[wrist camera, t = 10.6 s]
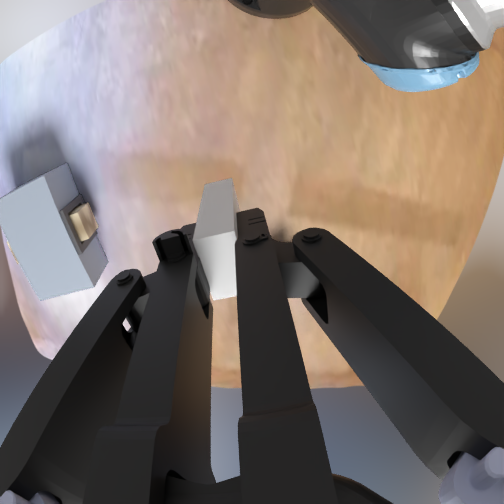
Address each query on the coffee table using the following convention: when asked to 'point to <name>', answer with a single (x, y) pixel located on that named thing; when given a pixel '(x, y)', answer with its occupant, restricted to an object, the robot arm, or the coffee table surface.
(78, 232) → the peg
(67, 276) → the sleeve block
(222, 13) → the coffee table surface
